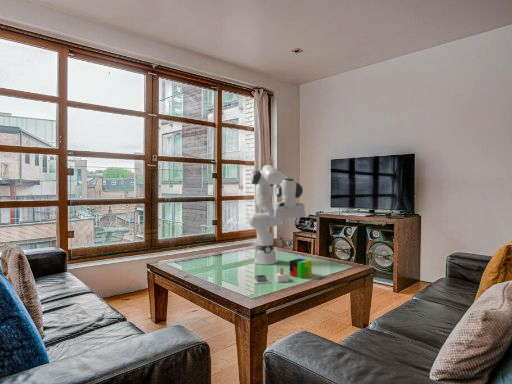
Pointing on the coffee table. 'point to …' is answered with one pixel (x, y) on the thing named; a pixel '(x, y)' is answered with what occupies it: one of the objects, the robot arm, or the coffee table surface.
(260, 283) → the coaster
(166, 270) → the coffee table surface
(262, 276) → the ring
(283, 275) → the peg stand
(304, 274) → the puzzle toy
